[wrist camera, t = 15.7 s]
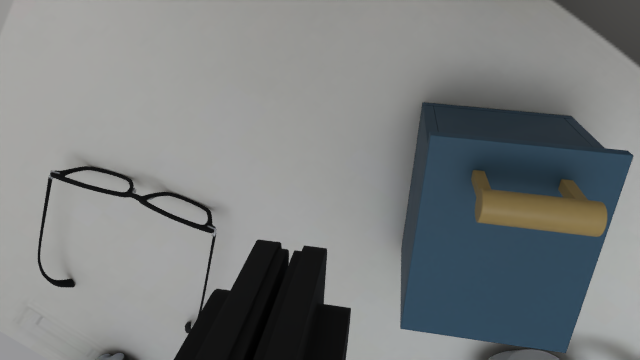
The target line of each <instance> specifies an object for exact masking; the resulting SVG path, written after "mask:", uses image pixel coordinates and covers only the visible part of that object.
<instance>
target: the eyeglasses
mask: <svg viewBox="0 0 640 360" xmlns="http://www.w3.org/2000/svg"><path fill="white" fill-rule="evenodd" d="M84 170H93V171H98V172H102V173H107V174H110V175H113V176H117V177H119V178H122V179H125V180H127V181H128V182H129V184H130V188H129V190H128V191H127V192H117V191H112V190H107V189H103V188H99V187H95V186H91V185H87V184H84V183H81V182H78V181H75V180H72V179H70V178H67V177H65V176H66V175H68V174H70V173H74V172H78V171H84ZM53 178H56V179H58V180H61V181H64V182H67V183H70V184H73V185H76V186H79V187H82V188H86V189H90V190H93V191H97V192H101V193H106V194H110V195H114V196H119V197H132V198H134V199H136V200H138V201H139V202H140V203H141V204H143V205H144V206H146V207H148V208H150V209H152V210H154V211H156V212H158V213H160V214H162V215H164V216H166V217H168V218H171V219H173V220H175V221H178V222H180V223H183V224H186V225H188V226H191V227H193V228H196V229H199V230H202V231H205V232H208V233H214V234H212V236H213V239H212V245H211V251H210V257H209V262H208V268H207V274H206V279H205V285H204V290H203V296H202V301H201V306H200V310H199V314H198V317H199V315H200V313H201V311H202V306H203V301H204V296H205V291H206V285H207V280H208V275H209V269H210V264H211V259H212V253H213V248H214V242H215V237H216V228H215V227H214V226H213V225H212V215H211V211H210V210H209V209H208V208H206V207H205V206H203V205H201V204H199V203H197V202H195V201H193V200H190V199H188V198H186V197H183V196H180V195H177V194H174V193H170V192H159V193H153V194H148V195H145V196H140V195H137V194H134V193H136V189H135V188H133V182H132V180H131V179H130V178H128V177H126V176H123V175H121V174H118V173H115V172H112V171H108V170H104V169H100V168H95V167H88V166H85V167H78V168H73V169H68V170H63V171H51V172H50V175H49V179H48V185H47V191H46V198H45V204H44V211H43V217H42V224H41V231H40V238H39V247H38V264H39V268H40V271H41V273H42V275H43V276H44V277H45V278H46V279H47V280H48V281H49V282H50V283H52V284H53V285H55V286H58V287H74V286H75V285H74V282H73V280H72V279H67V280H53V279H51V278H50V277H48V276H47V275H46V274H45V272H44V271H43V269H42V266H41V262H40V249H41V241H42V235H43V228H44V223H45V217H46V211H47V206H48V200H49V195H50V189H51V183H52V179H53ZM158 196H172V197H176V198H179V199H182V200H184V201H186V202H189V203H191V204H194V205H196V206H198V207H200V208H201V209H203V210H205V211H206V212H207V215H208V221H207V223H206V224H205V225H200V224H196V223H193V222H191V221H188V220H185V219H182V218H180V217H177V216H175V215H172V214H170V213H168V212H166V211H164V210H162V209H160V208H158V207H156V206H154V205H152V204H150V203H149V202H147V200H149V199H150V200H151V199H153V198H154V197H158ZM185 331H186V332H187V333H189V332H190V331H191V322H188V323H187V324H186V325H185Z"/></svg>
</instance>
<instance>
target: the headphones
mask: <svg viewBox="0 0 640 360" xmlns="http://www.w3.org/2000/svg"><path fill="white" fill-rule="evenodd" d="M488 360H560V359H558V358H557V357H556V356H554V355H551V354H549V353H547V352H544V351H540V350H532V349H526V350H514V351H504V352H502V353H499V354H496V355H494V356H492V357H490V358H489V359H488Z"/></svg>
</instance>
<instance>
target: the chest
mask: <svg viewBox="0 0 640 360" xmlns="http://www.w3.org/2000/svg"><path fill="white" fill-rule="evenodd" d="M430 131H433V132H443V133H453V134H464V135H474V136H484V137H494V138H504V139H514V140H524V141H534V142H544V143H554V144H564V145H574V146H584V147H594V148H604V147H603V146H602V145H601V144H600V143H599V142H598V141H597V140H596V139H595V138H594V137H593V136H591V135H590V134H589V133H588V132H587V131H586V130H585V129H584V128H583V127H582V126H581V125H580V124H579V123H578V122H577V121H576V120H575V119H574V118H573V117H572V116H565V115H554V114H544V113H533V112H522V111H511V110H500V109H490V108H479V107H468V106H457V105H446V104H436V103H425V102H423V103H422V109H421V116H420V123H419V130H418V137H417V144H416V151H415V158H414V165H413V172H412V179H411V186H410V193H409V200H408V207H407V214H406V221H405V228H404V235H403V242H402V248H401V315H402V309H403V302H404V296H405V289H406V283H407V276H408V270H409V263H410V257H411V250H412V244H413V237H414V231H415V224H416V218H417V211H418V204H419V198H420V191H421V185H422V178H423V172H424V165H425V159H426V152H427V146H428V139H429V133H430ZM604 149H605V148H604Z"/></svg>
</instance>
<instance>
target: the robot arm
mask: <svg viewBox="0 0 640 360" xmlns="http://www.w3.org/2000/svg"><path fill="white" fill-rule="evenodd" d="M326 260H327V249H326V248H318V247H311V246H304V247H303V249H302V251H294V253H293V255H292V258H291V260H290V263H289V251H288V250H287V249H281V243H280V242H273V241H265V240H257V241H256V243H255V245H254V247H253V249H252V251H251V253H250V254H249V256H248V258H247V260H246V262H245V264H244V266H243V268H242V270H241V272H240V274H239V275H238V277H237V279H236V281H235V283H234V285H233V287H232V289H231V291H229V290H222V289H216V290H214V292H213V293H212V294H211V296H210V298H209V299H208V301H207V303H206V305H205V306H204V308H203V310H202V312H201V313H200V315H199V317H198V318H197V320H196V322H195V324H194V325H193V327H192V329H191V331H190V332H189V334H188V336H187V338H186V339H185V341H184V343H183V345H182V346H181V348H180V350H179V351H178V353H177V355H176V357H175V358H174V360H346V352H347V343H348V334H349V324H350V314H351V308H346V307H339V306H333V305H326V304H324V289H325V275H326ZM288 265H289V266H288Z"/></svg>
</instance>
